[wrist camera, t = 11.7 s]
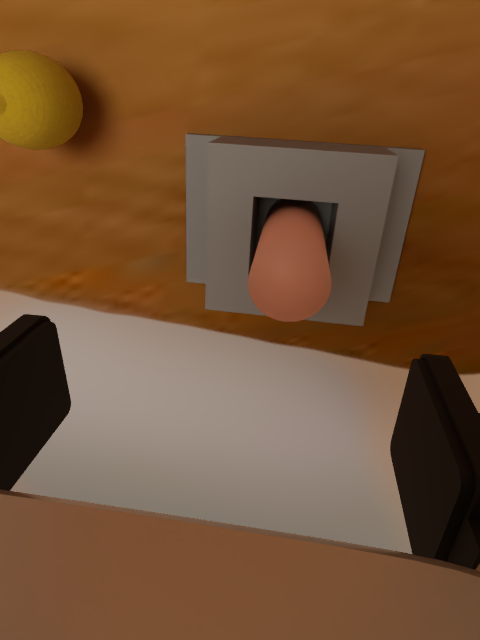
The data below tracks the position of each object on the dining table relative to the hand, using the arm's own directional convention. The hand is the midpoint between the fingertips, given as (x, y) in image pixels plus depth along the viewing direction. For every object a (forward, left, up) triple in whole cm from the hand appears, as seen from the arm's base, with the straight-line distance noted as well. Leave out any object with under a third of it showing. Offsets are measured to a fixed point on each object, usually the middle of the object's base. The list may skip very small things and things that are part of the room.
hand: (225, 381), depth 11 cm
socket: (-1, +1, -23) cm, 23 cm away
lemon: (+16, -6, -23) cm, 29 cm away
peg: (-1, +1, -22) cm, 22 cm away
